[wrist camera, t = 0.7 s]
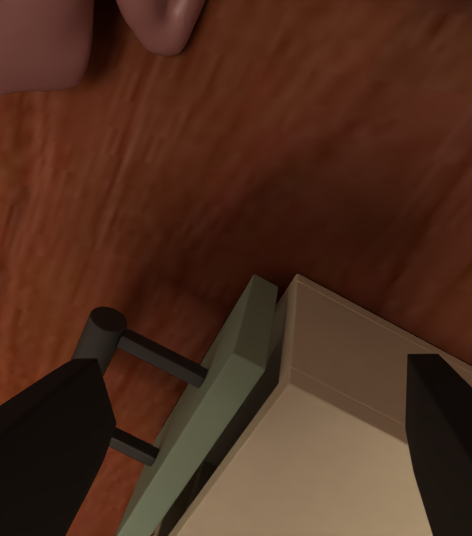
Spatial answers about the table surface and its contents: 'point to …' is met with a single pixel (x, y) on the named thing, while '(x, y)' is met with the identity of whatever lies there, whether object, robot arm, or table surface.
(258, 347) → the drawer
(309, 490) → the small storage cabinet
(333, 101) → the table surface
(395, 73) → the table surface
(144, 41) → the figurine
